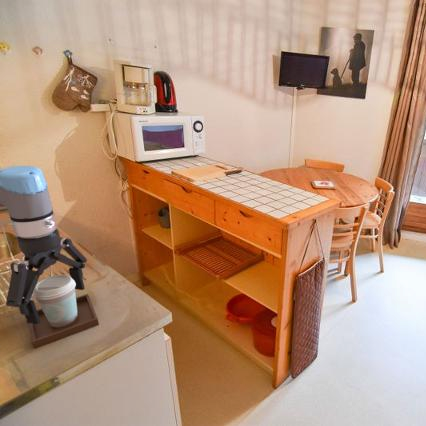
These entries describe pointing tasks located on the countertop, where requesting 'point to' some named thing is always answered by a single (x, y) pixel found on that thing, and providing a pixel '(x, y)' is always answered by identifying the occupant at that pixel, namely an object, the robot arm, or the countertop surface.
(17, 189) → the robot arm
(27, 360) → the countertop surface
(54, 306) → the coffee cup
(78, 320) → the tray
